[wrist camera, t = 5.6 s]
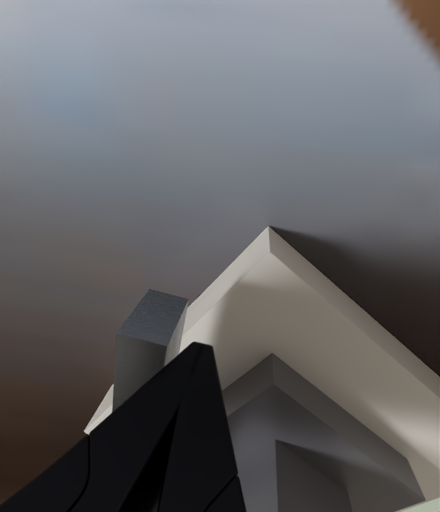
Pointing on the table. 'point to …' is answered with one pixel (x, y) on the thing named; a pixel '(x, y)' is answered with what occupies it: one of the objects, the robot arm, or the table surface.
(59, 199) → the table surface
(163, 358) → the bar
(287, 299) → the socket block
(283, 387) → the plug
